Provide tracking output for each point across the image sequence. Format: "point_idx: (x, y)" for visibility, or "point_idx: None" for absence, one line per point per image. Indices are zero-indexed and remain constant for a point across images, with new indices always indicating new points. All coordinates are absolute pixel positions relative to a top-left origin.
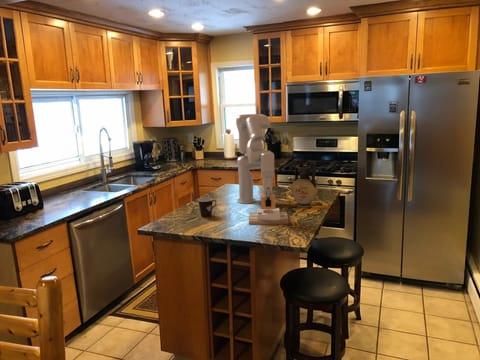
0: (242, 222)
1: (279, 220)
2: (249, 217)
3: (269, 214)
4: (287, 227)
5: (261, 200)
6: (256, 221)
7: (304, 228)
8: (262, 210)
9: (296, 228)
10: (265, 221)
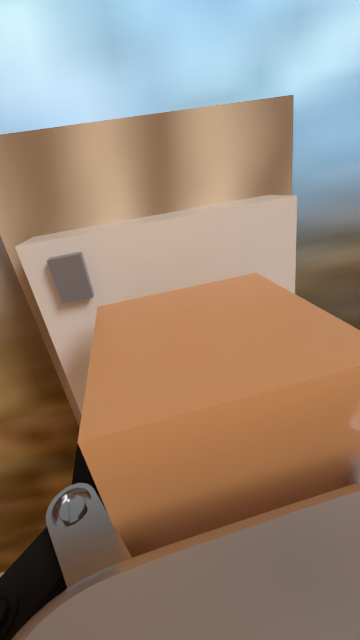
0: (25, 41)
1: (77, 422)
2: (105, 124)
3: (74, 378)
4: (18, 460)
5: (90, 387)
6: (2, 235)
7: (33, 532)
8: (214, 278)
9: (17, 503)
10: (38, 320)
